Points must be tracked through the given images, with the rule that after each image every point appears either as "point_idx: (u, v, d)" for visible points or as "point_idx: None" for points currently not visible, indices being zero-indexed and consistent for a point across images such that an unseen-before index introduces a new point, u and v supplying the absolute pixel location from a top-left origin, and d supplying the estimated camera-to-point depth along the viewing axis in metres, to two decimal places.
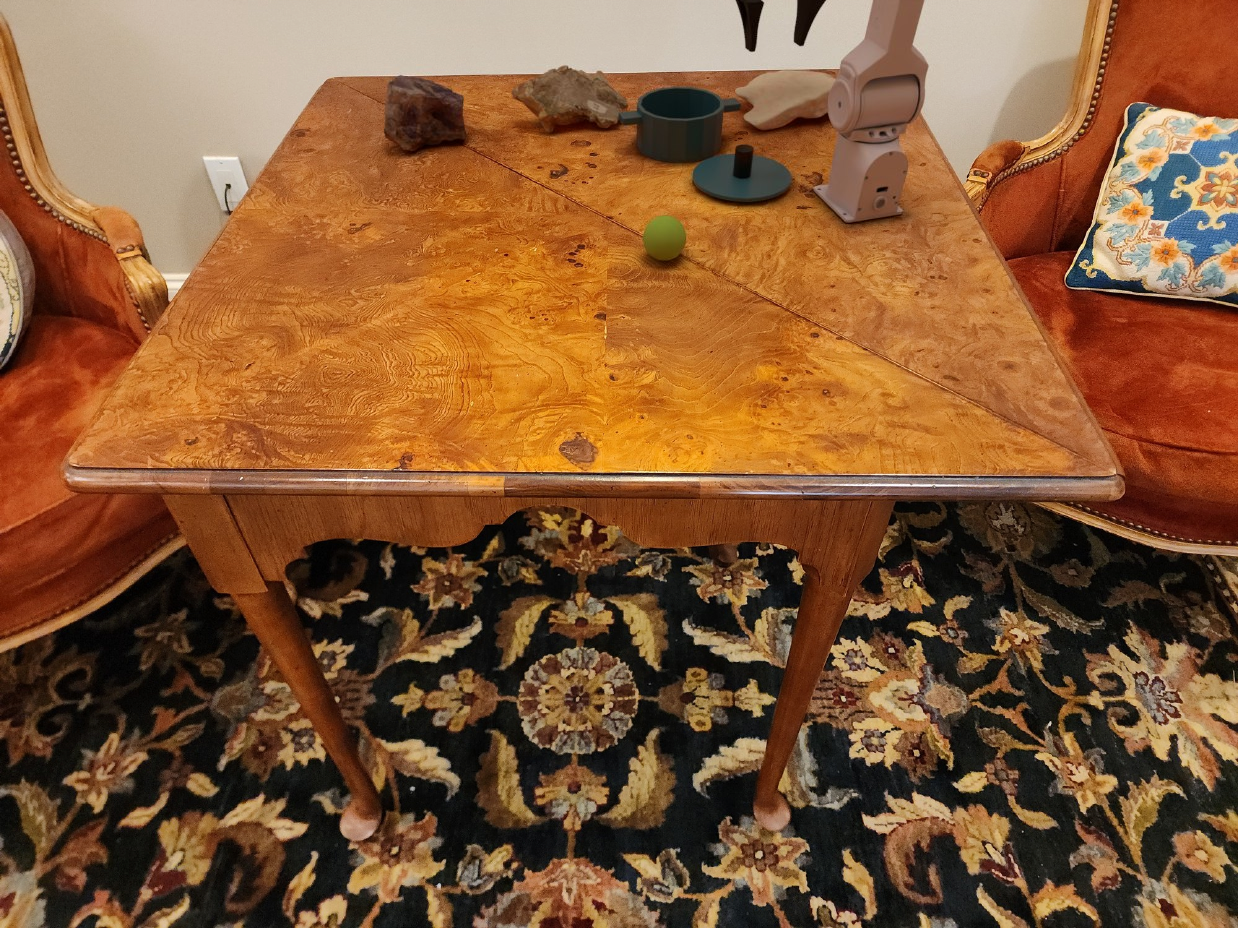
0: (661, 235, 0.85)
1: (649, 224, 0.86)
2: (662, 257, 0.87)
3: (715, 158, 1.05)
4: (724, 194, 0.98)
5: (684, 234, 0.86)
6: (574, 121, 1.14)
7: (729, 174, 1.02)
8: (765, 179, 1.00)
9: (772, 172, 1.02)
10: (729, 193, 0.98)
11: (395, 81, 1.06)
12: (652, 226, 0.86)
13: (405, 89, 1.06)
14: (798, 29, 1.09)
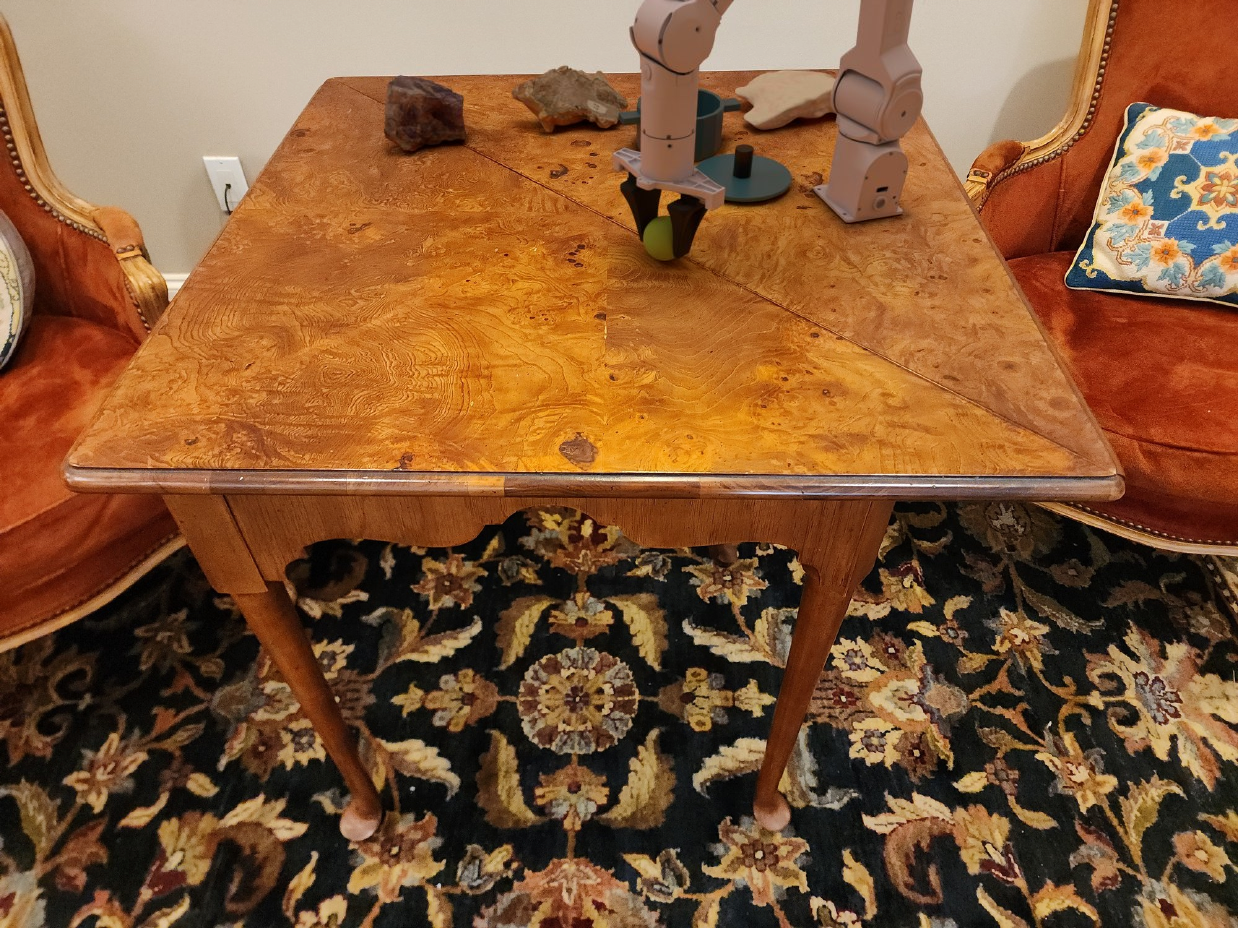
0: (661, 235, 0.85)
1: (649, 224, 0.86)
2: (662, 257, 0.87)
3: (715, 158, 1.05)
4: None
5: None
6: (574, 121, 1.14)
7: (729, 174, 1.02)
8: (765, 179, 1.00)
9: (772, 172, 1.02)
10: (729, 193, 0.98)
11: (395, 81, 1.06)
12: (652, 226, 0.86)
13: (405, 89, 1.06)
14: None
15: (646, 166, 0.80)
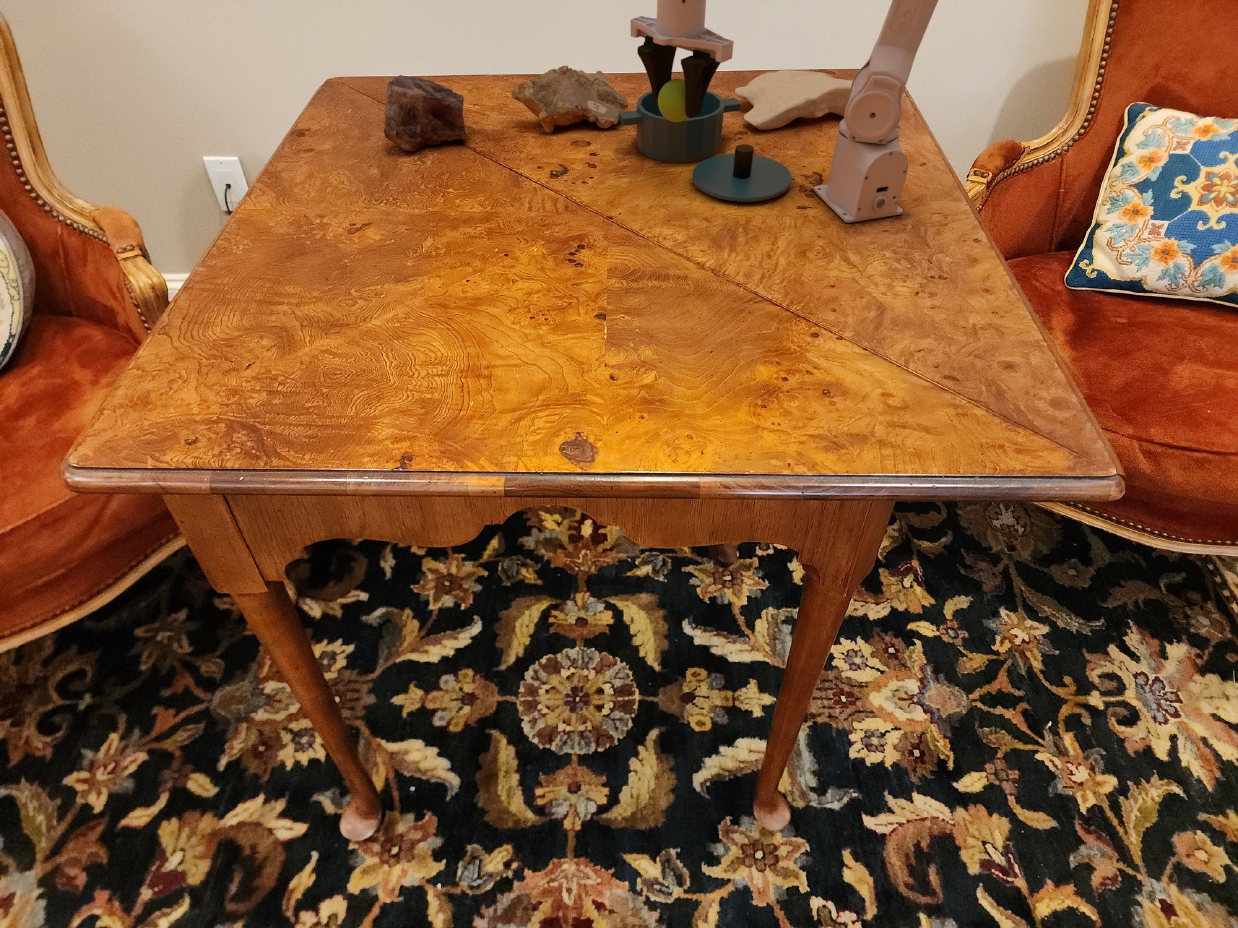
0: (674, 94, 0.94)
1: (663, 86, 0.95)
2: (675, 116, 0.96)
3: (715, 158, 1.05)
4: (724, 194, 0.98)
5: None
6: (574, 121, 1.14)
7: (729, 174, 1.02)
8: (765, 179, 1.00)
9: (772, 172, 1.02)
10: (729, 193, 0.98)
11: (395, 81, 1.06)
12: (666, 87, 0.94)
13: (405, 89, 1.06)
14: None
15: (662, 23, 0.88)
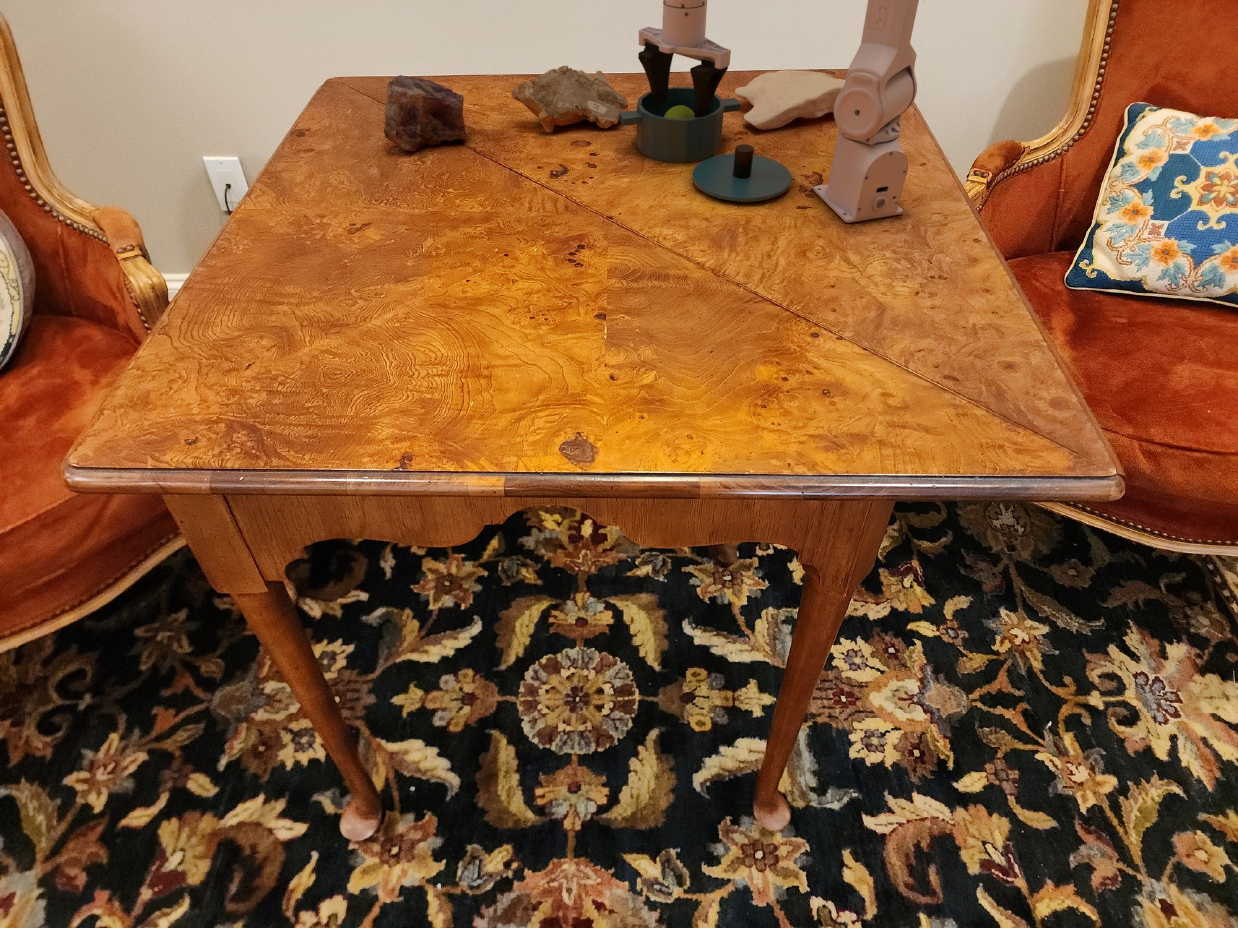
0: None
1: (667, 112, 1.08)
2: None
3: (715, 158, 1.05)
4: (724, 194, 0.98)
5: None
6: (574, 121, 1.14)
7: (729, 174, 1.02)
8: (765, 179, 1.00)
9: (772, 172, 1.02)
10: (729, 193, 0.98)
11: (395, 81, 1.06)
12: (670, 113, 1.07)
13: (405, 89, 1.06)
14: (660, 90, 1.08)
15: (667, 33, 0.99)
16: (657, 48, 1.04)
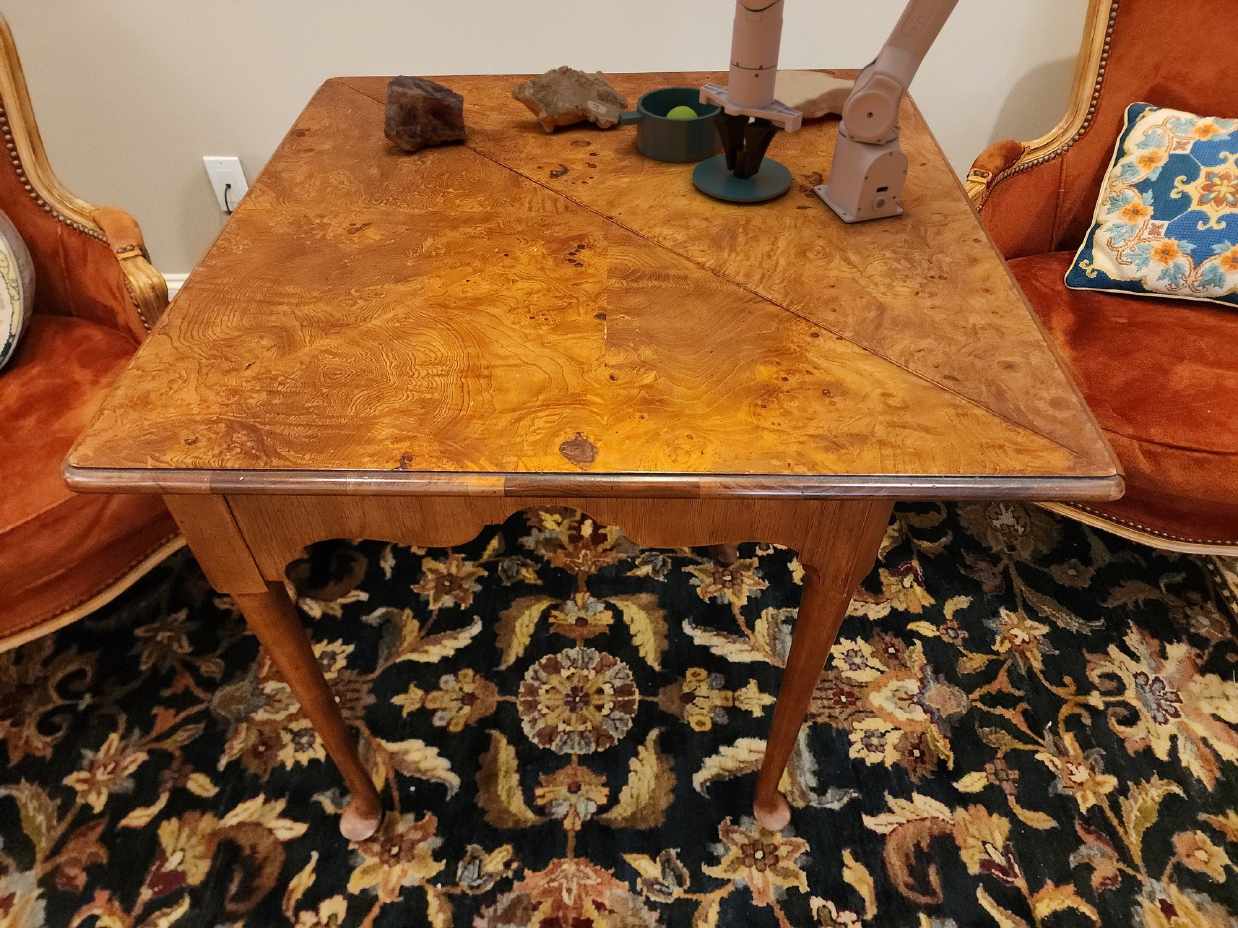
0: None
1: (671, 112, 1.07)
2: None
3: (715, 158, 1.05)
4: (724, 194, 0.98)
5: None
6: (574, 121, 1.14)
7: (729, 174, 1.02)
8: (765, 179, 1.00)
9: (772, 172, 1.02)
10: (729, 193, 0.98)
11: (395, 81, 1.06)
12: (674, 114, 1.07)
13: (405, 89, 1.06)
14: None
15: (734, 94, 0.93)
16: None
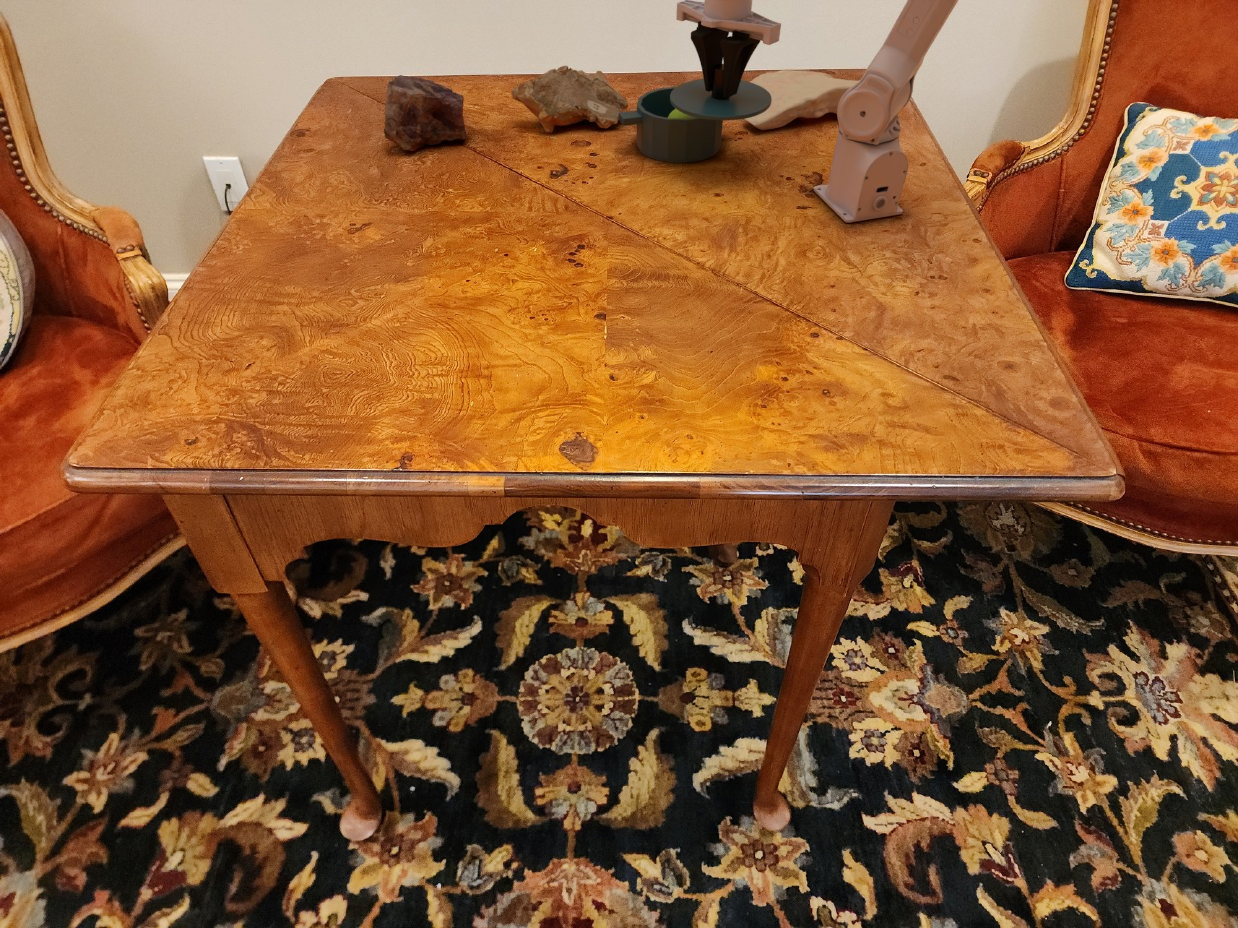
0: None
1: (673, 112, 1.07)
2: None
3: (694, 82, 1.02)
4: (702, 113, 0.95)
5: None
6: (574, 121, 1.14)
7: (708, 95, 0.99)
8: (744, 100, 0.98)
9: (752, 94, 0.99)
10: (707, 112, 0.95)
11: (395, 81, 1.06)
12: (676, 114, 1.06)
13: (405, 89, 1.06)
14: None
15: (710, 6, 0.90)
16: None
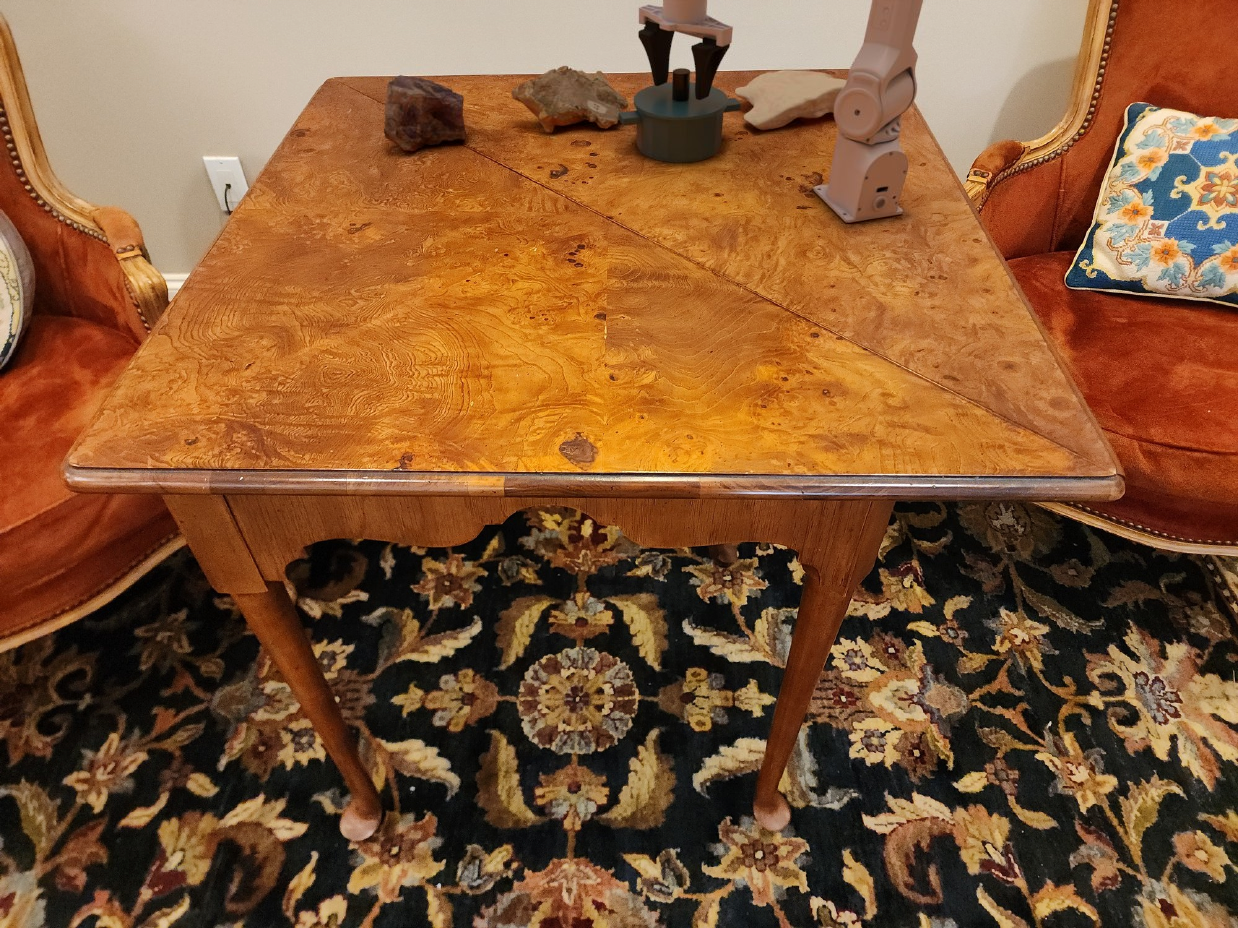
0: None
1: None
2: None
3: (657, 86, 1.10)
4: (661, 114, 1.02)
5: None
6: (574, 121, 1.14)
7: (669, 98, 1.07)
8: (702, 102, 1.05)
9: (710, 96, 1.07)
10: (666, 113, 1.03)
11: (395, 81, 1.06)
12: None
13: (405, 89, 1.06)
14: (661, 70, 1.06)
15: (668, 10, 0.97)
16: (657, 26, 1.02)
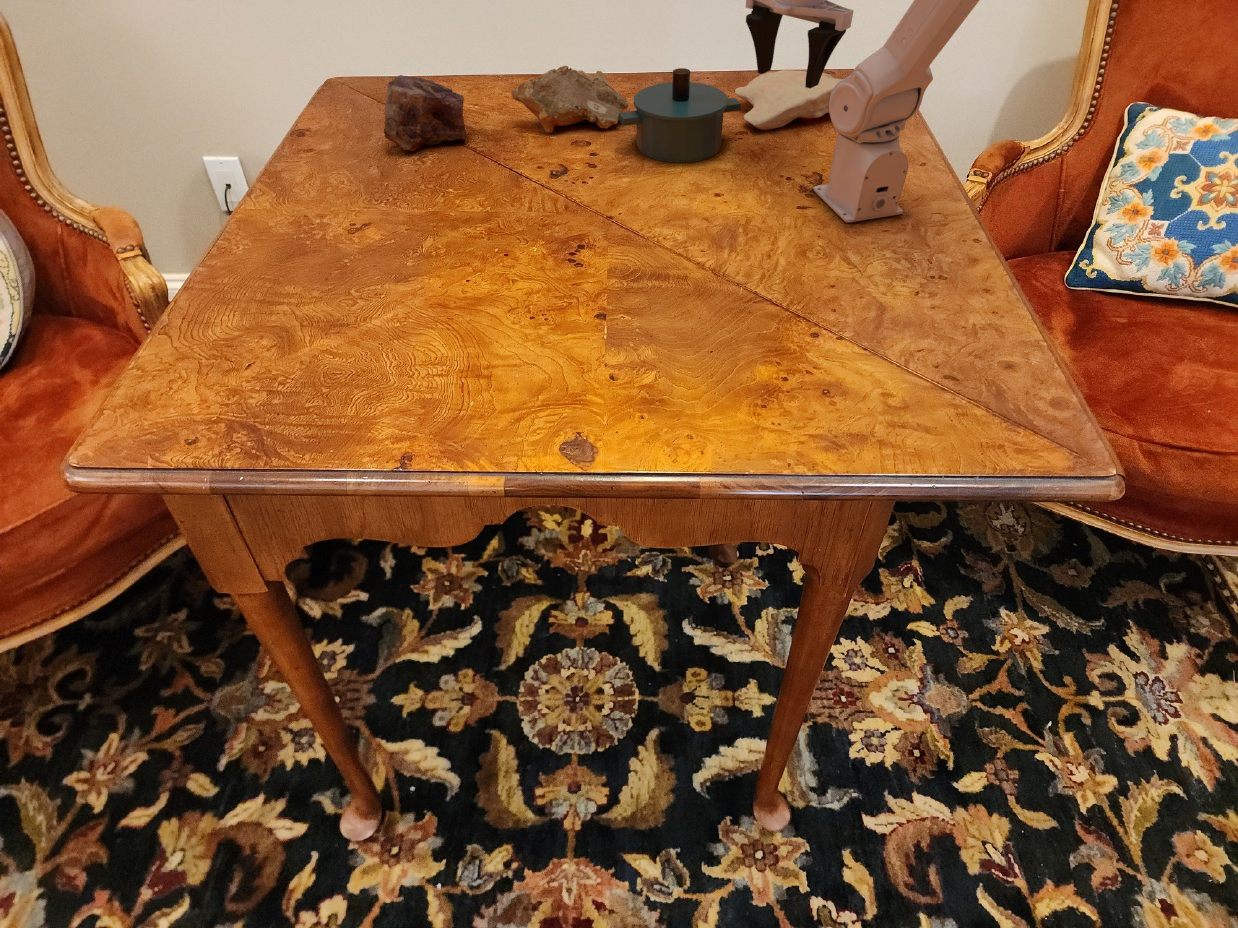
0: None
1: None
2: None
3: (657, 86, 1.10)
4: (661, 114, 1.02)
5: None
6: (574, 121, 1.14)
7: (669, 98, 1.07)
8: (702, 102, 1.05)
9: (710, 96, 1.07)
10: (666, 113, 1.03)
11: (395, 81, 1.06)
12: None
13: (405, 89, 1.06)
14: (766, 57, 1.01)
15: None
16: (767, 10, 0.97)
